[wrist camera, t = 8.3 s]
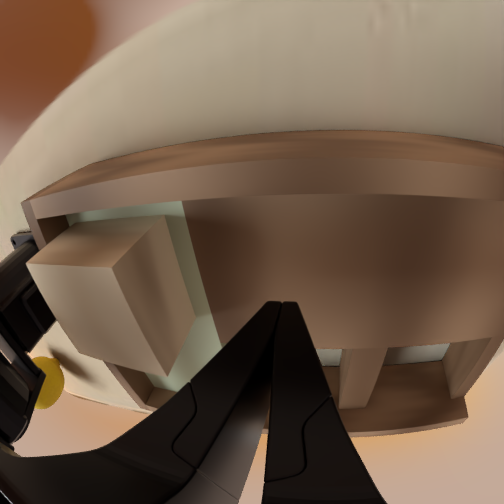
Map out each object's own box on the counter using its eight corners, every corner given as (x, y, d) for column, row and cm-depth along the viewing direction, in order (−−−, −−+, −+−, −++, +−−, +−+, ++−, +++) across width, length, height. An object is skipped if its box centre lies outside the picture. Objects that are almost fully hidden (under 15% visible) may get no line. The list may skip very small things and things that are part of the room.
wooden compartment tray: (165, 357, 19) (140, 407, 15) (88, 165, 12) (20, 202, 8) (449, 366, 14) (462, 423, 10) (520, 150, 7) (586, 190, 3)
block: (112, 307, 12) (79, 353, 10) (75, 222, 10) (25, 263, 7) (196, 317, 11) (167, 377, 9) (164, 214, 9) (111, 267, 6)
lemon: (73, 378, 29) (46, 423, 22) (42, 352, 28) (12, 394, 21) (76, 366, 26) (43, 418, 19) (40, 337, 25) (5, 384, 18)
